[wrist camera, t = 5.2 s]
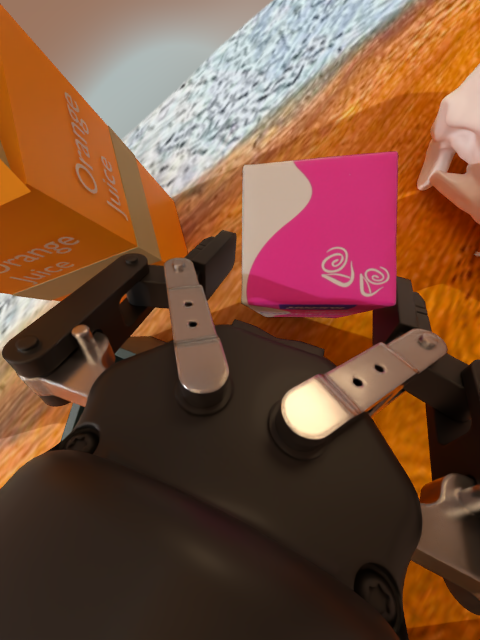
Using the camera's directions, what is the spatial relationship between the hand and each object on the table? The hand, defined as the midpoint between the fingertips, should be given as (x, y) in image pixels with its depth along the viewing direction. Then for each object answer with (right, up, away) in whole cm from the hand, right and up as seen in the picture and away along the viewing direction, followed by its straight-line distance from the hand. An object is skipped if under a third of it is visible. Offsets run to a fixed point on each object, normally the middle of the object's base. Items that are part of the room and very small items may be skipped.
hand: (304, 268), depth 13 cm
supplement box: (+2, 0, +7) cm, 8 cm away
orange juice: (-12, +3, +10) cm, 16 cm away
